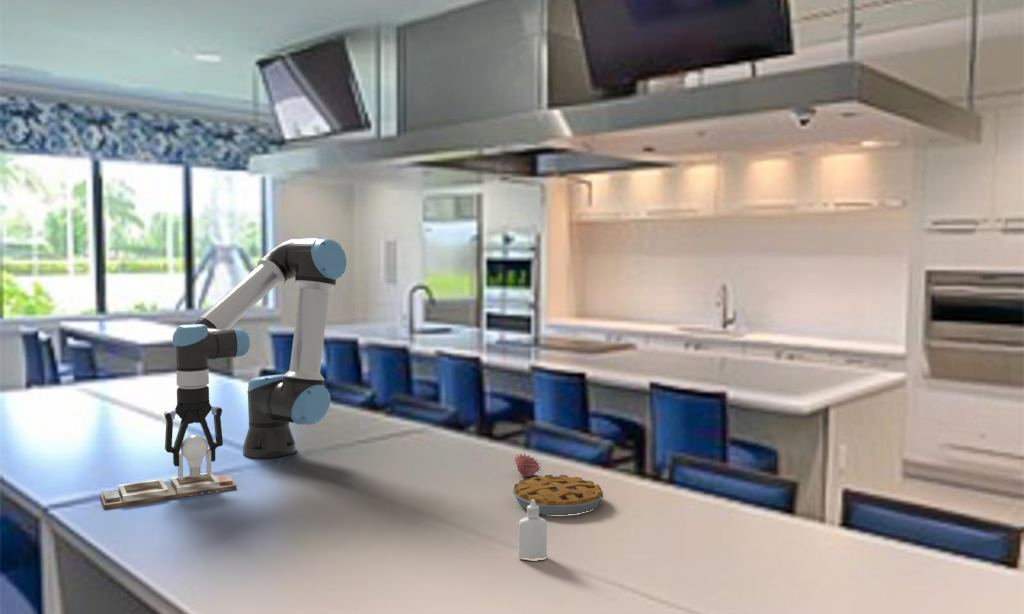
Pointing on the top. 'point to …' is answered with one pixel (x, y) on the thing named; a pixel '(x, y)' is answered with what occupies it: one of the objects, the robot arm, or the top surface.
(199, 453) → the lightbulb
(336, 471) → the top surface
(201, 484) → the socket board
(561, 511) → the pie
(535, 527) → the eye dropper bottle
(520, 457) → the flower
